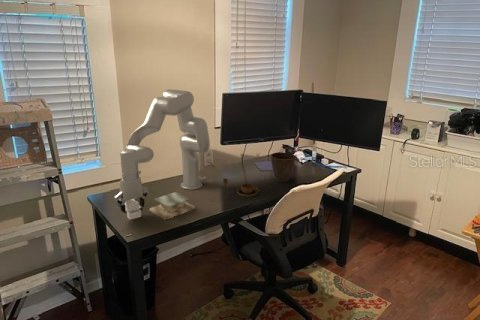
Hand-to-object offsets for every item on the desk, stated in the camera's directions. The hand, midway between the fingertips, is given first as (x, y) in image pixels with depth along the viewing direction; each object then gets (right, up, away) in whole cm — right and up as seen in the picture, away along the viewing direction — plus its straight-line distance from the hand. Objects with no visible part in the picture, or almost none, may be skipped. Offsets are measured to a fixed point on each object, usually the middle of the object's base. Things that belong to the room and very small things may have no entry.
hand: (133, 208), depth 175 cm
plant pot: (+78, +11, +50) cm, 93 cm away
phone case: (-6, -1, +13) cm, 15 cm away
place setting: (+53, +5, +35) cm, 64 cm away
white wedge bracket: (0, -4, +2) cm, 5 cm away
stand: (+17, -2, +9) cm, 20 cm away
